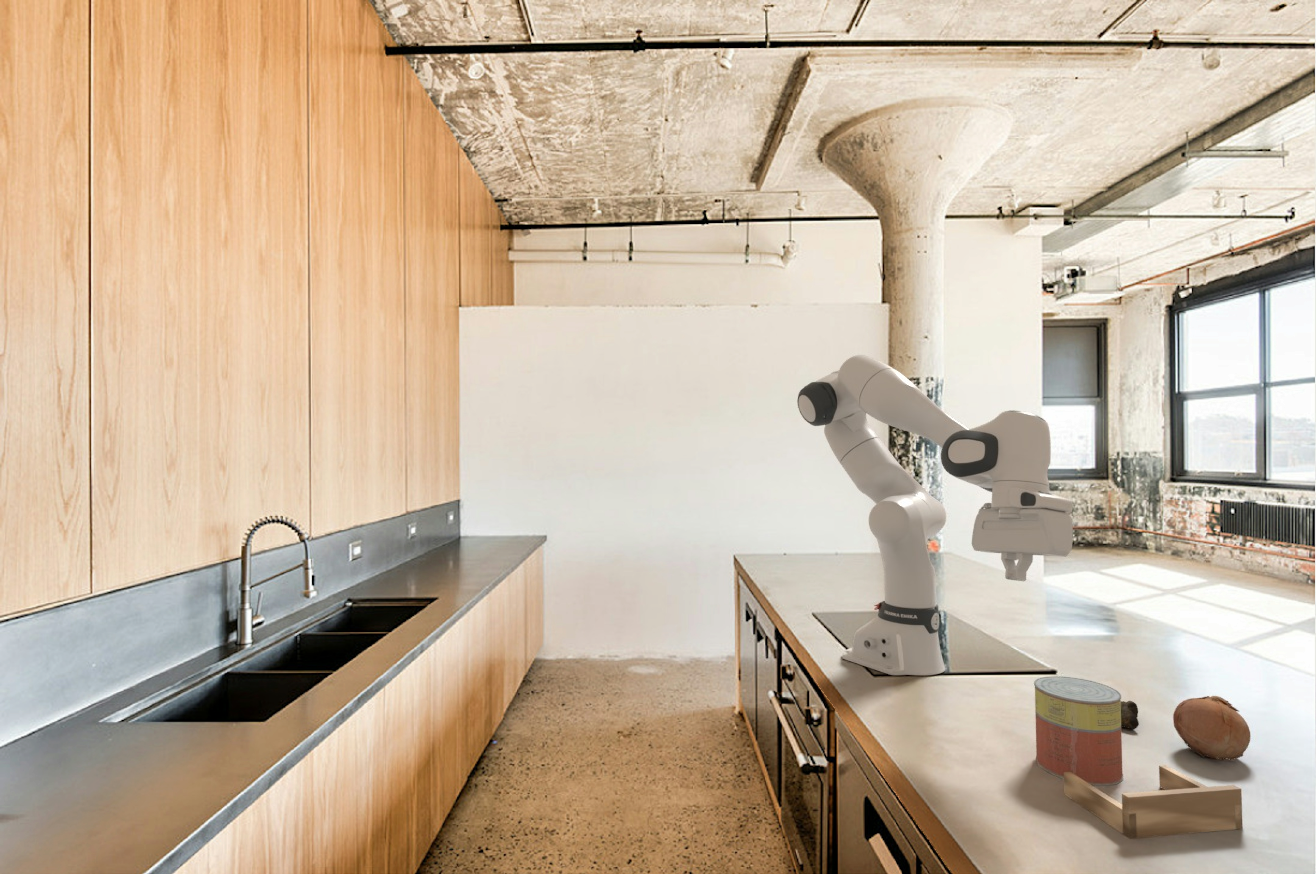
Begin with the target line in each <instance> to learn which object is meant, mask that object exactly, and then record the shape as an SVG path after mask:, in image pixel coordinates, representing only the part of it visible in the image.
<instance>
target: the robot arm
mask: <svg viewBox="0 0 1316 874" xmlns="http://www.w3.org/2000/svg"><path fill="white" fill-rule="evenodd" d="M796 402H797V408H798V411H799V413H800V415H801V417H802V418H803V419H804V421H806V422H807V423H808V424H810V425H811V426H813V427H820V426H822V427H823V426H824V427H823V431H824V432H823V433H824V436H825V438H826V441H827V443H828V444H829V447H830V449H831V451H832V452H833V455H834V456H835V457H836V459H837V461H838V462H839V464H840V465H841V466H842V468H843V469H844V471H845V472H846V474H847V476H848V477H849V478H850V479H851V481H852V482H853V484H854V485H855V487H856V488H857V489H858V491H860V493H862V494H864V495H865V496H866V497H868V498H869V499H870V500H871V501H873V502H874V504H875V505H874V506H873V507H872V508H871V510H870V512H869V516H868V527H869V529H870V531H871V533H872V535H873V536H874V537H875V539H876V541H877V544H878V548H879V551H880V556H881V560H882V566H883V567H882V568H883V578H884V579H883V580H884V581H883V582H884V583H883V584H884V587H883V588H884V600H883V601H881V602H878V604H874V605H873V606H874V610H873V611H878V613H877V616H876V617H874V618H873V619H871V620H870V621H869V622H867V623H866V624H864V625H862V626H861V627H860V628H858V629H856V632H855V633H854V636H853V639H852V640H853V641H852V646H851V647H849V648H847V649H845V650H844V651H843V653H842V659H844V660H846V661H849V662H852V663H855V664H858V665H860V666H864V667H866V668H869V669H872V670H876V671H878V672H881V673H883V674H884V673H885V674H888V675H890V676H906V675H909V676H934V675H938V674H941V673H944V672H945V671H946V670H947V669H946V665H945V663H944V660H943V656H942V651H941V646H940V639H939V632H938V631H939V629H940V628H939V627H940V616H939V611H940V610H939V605H938V604H937V575H936V574H937V573H936V572H937V571H936V569H935V567H934V565H933V563H932V560H931V558H930V553H929V550H928V545H927V540H929V539H932V538H933V537H935V536H937V534H939V532H941V530H942V529H943V528H944V526H945V524H946V521H947V512H946V509H945V507H944V505H943V504H942V502H940V500H938V499H937V498H935V497H934V496H932V495H931V494H930V493H929V492H928V491H927V490H926V489H925V488H924V486H922V485H921V484H920V483H919V482H918V481H917V480H916V479H915V478H914V477H913V476H912V475H911V474H910V473H909V472H907V471H906V470H905V469H904V467H903V466H902V465H901V464H900V463H899V462H898V460H897V459H896V457H894V456H893V454H892V452H891V451H890V450H889V449H888V447H887V446H886V445H885V443H884V442H883V441H882V440H881V438H880V437H879V435H877V433H876V431H874V429H873V428H872V427H871V426H870V423H869V421H868V420H867V415H869V416H870V417H872V418H873V419H875V420H877V421H879V422H881V423H883V424H884V425H885V424H886V425H888V426H891V427H894V428H896V429H899V430H903V431H906V432H908V433H910V434H911V433H912V434H915V435H917V436H919V437H922V438H925V439H927V440H929V441H931V442H932V443H934V444H936V445H937V446H939V448H941V452H940V462H941V465H942V466H943V469H944V470H945V472H947V473H948V474H949V475H951V476H953V477H955V478H956V479H958V480H961V481H964V482H965V483H966V482H967V483H969V484H972V485H975V486H978V487H979V488H981V489H984V490H985V491H987V492H990V493H991V502H986V503H984V504H983V505H982V506H981V507H980V508H979V509H978V511H977V512H978V513H977V515H976V516H975V519H974V524H973V529H972V536H971V546H972V549H973V550H974V551H976V552H982V553H989V554H1001V555H1000V560H1001V562H1002V564H1003V566H1004V569H1005V573H1004V574H1005V575H1004V576H1005V577H1004V578H1005V579H1006V580H1010V581H1018V582H1026V580H1027V572H1028V570H1029V569H1030V568H1031V567H1030V566H1031V565H1032V563H1033V560H1034V557H1033V556H1049V557H1068V556H1069V554H1070V553H1071V552H1072V548H1073V540H1074V539H1073V536H1074V532H1073V527H1074V526H1073V519H1072V516H1071V515H1070V513H1072V511H1073V510H1074V509H1073V507H1074V504H1073V501H1072V500H1071V499H1069V498H1066V497H1063V496H1060V495H1058V494H1054V493H1051V492H1050V482H1049V479H1048V470H1049V467H1050V465H1051V455H1052V453H1051V452H1052V451H1051V446H1052V445H1051V443H1052V442H1051V432H1050V426H1049V424H1048V422H1047V421H1046V420H1045V419H1044V418H1043V417H1041V416H1039V415H1037V414H1035V413H1032V412H1027V411H1021V410H1005V411H1002V412H1000V413H999V414H998V415H997V416H996V417H995V418H994V419H992V420H990V421H988V422H986V423H983V424H981V425H979V426H974V427H973V428H968V427H967V426H965V425H964V424H962V423H961V422H959V421H958V420H956V419H955V418H953V417H952V416H950V415H949V414H947V413H946V412H945V411H943V409H942V408H941V407H939V406H938V404H936V403H935V402H934V401H933V400H931V398H929V397H928V395H926V394H925V393H924V392H923V391H922V390H921V389H920V388H918V386H917V385H915V384H914V383H913V382H912V381H911V380H909V378H908V377H906V376H905V375H904V374H902V373H901V372H900V371H899V370H897V369H895V368H894V367H892V366H890V365H889V364H887V363H885V362H883V361H881V360H878V359H876V358H874V357H870V356H868V355H865V354H864V355H863V354H857V355H853V356H851V357H849V358H847V359H846V360H845V361H844V362H843V364H842V365H841V366H840V367H839V369H837V370H835V371H833V372H831V373H830V374H828V375H825V376H824V377H822V378H820V379H818V380H816V381H812V382H810V383H809V384H807V385H805V386H804V387H803V388H802V389H800V390H799V392H798V395H797V401H796ZM1016 561H1017V563H1016Z"/></svg>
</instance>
